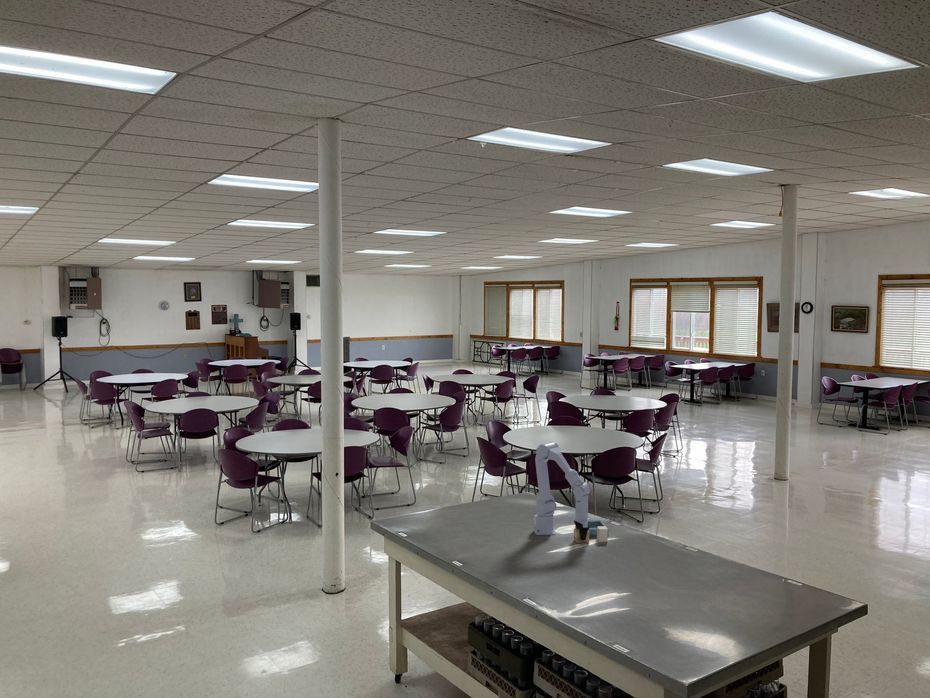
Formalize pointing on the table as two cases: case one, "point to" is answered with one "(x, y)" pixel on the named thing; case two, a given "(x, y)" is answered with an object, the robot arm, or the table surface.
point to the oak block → (577, 536)
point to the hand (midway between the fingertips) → (581, 538)
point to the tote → (594, 527)
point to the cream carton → (602, 534)
